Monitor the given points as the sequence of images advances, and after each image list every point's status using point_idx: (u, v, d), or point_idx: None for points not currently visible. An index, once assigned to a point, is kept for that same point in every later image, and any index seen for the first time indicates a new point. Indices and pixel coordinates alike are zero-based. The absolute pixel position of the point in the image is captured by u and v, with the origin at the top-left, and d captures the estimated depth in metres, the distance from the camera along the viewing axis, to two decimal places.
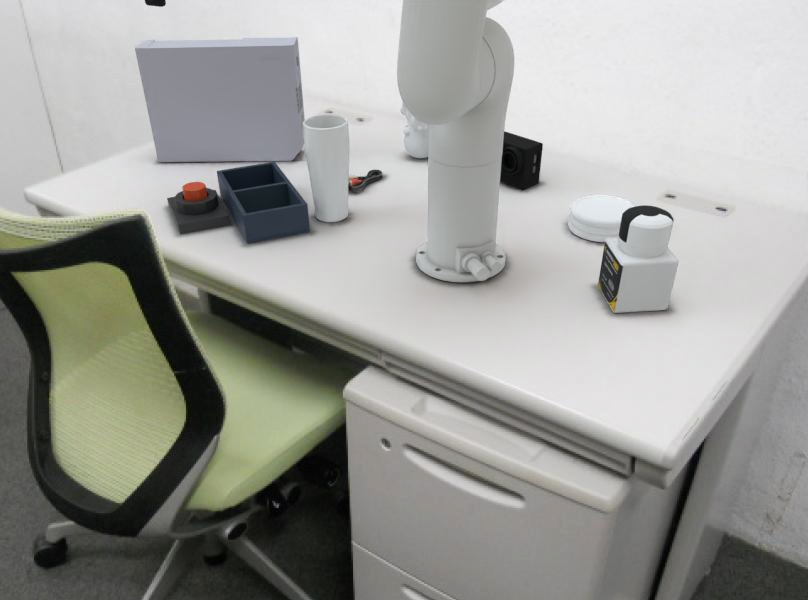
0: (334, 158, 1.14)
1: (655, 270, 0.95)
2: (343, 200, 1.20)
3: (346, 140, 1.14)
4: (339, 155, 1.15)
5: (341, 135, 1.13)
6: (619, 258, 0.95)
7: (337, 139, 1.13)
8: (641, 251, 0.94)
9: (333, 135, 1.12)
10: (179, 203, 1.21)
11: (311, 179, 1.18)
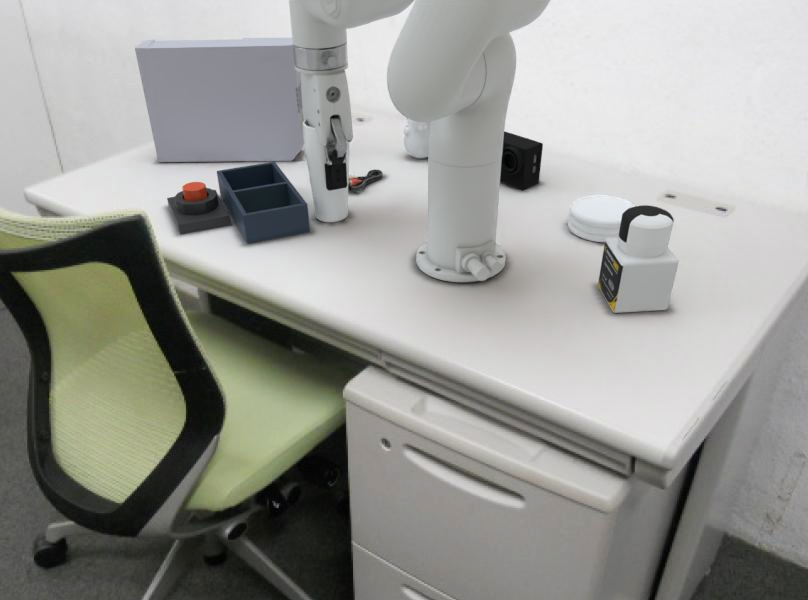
0: None
1: (655, 270, 0.95)
2: (343, 200, 1.20)
3: None
4: None
5: None
6: (619, 258, 0.95)
7: None
8: (641, 251, 0.94)
9: (332, 135, 1.12)
10: (179, 203, 1.21)
11: (311, 179, 1.18)
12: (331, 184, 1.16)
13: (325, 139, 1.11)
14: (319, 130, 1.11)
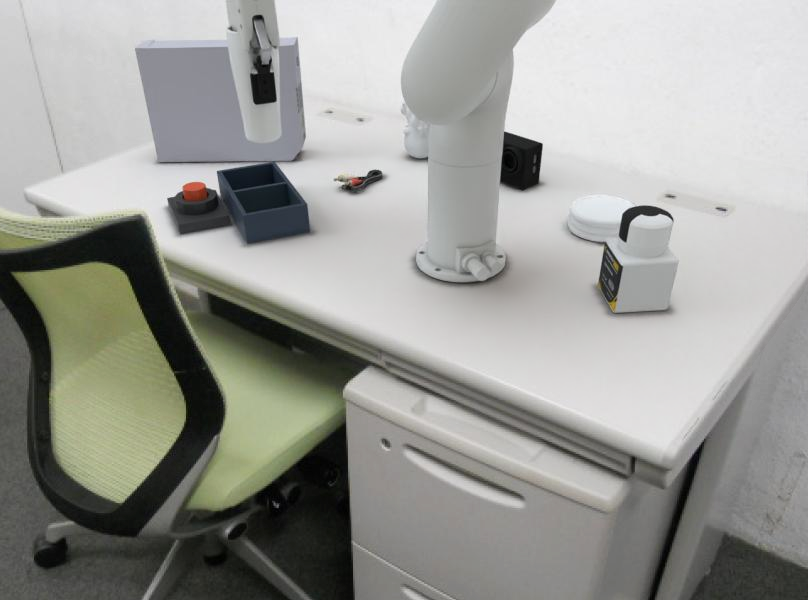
0: None
1: (655, 270, 0.95)
2: (274, 118, 1.10)
3: None
4: None
5: None
6: (619, 258, 0.95)
7: None
8: (641, 251, 0.94)
9: None
10: (179, 203, 1.21)
11: (238, 93, 1.08)
12: (258, 97, 1.06)
13: (248, 43, 1.00)
14: (241, 33, 1.00)
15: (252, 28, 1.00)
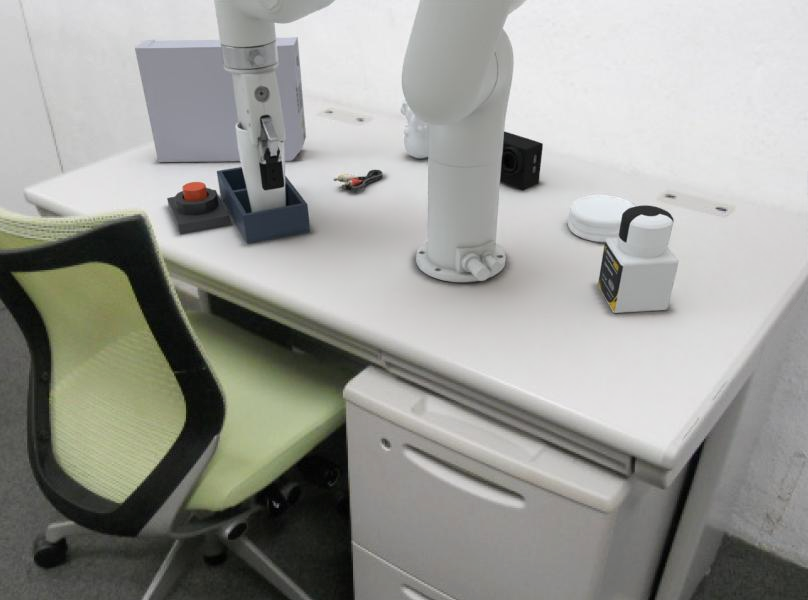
0: None
1: (655, 270, 0.95)
2: (280, 204, 1.17)
3: (280, 143, 1.12)
4: None
5: None
6: (619, 258, 0.95)
7: None
8: (641, 251, 0.94)
9: (265, 138, 1.10)
10: (179, 203, 1.21)
11: (246, 182, 1.16)
12: (267, 184, 1.12)
13: (256, 140, 1.08)
14: (249, 130, 1.08)
15: (260, 126, 1.07)
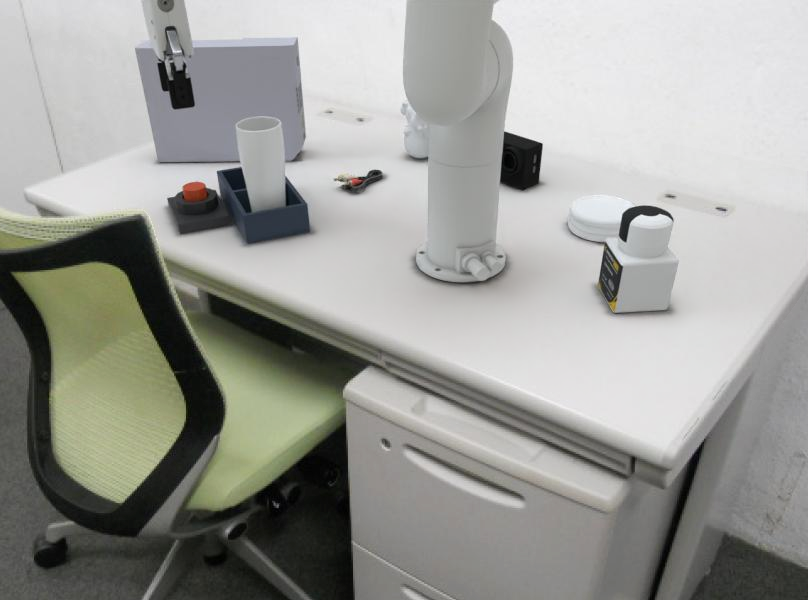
0: (267, 161, 1.12)
1: (655, 270, 0.95)
2: (280, 204, 1.17)
3: (280, 143, 1.12)
4: (273, 158, 1.12)
5: (274, 137, 1.11)
6: (619, 258, 0.95)
7: (269, 142, 1.10)
8: (641, 251, 0.94)
9: (265, 138, 1.10)
10: (179, 203, 1.21)
11: (246, 182, 1.16)
12: (176, 102, 1.09)
13: (162, 53, 1.05)
14: (155, 43, 1.05)
15: (165, 39, 1.04)
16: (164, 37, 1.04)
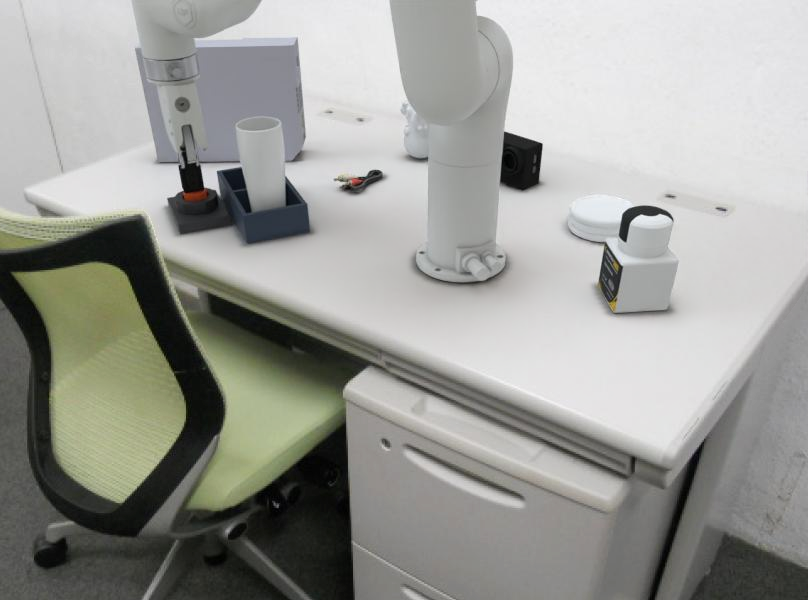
0: (267, 161, 1.12)
1: (655, 270, 0.95)
2: (280, 204, 1.17)
3: (280, 143, 1.12)
4: (273, 158, 1.12)
5: (274, 137, 1.11)
6: (619, 258, 0.95)
7: (270, 142, 1.10)
8: (641, 251, 0.94)
9: (265, 138, 1.10)
10: (179, 203, 1.21)
11: (246, 183, 1.16)
12: (188, 187, 1.21)
13: (179, 148, 1.13)
14: (172, 139, 1.13)
15: (182, 135, 1.12)
16: (181, 134, 1.12)
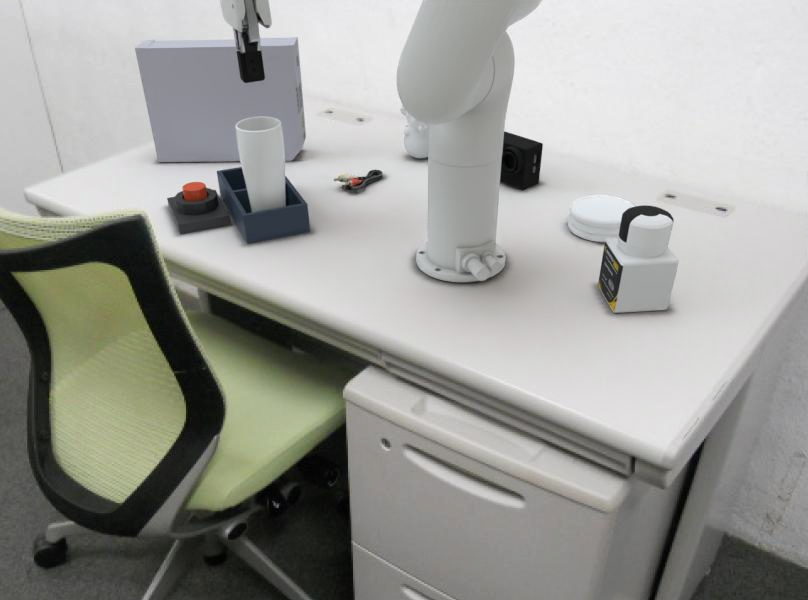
0: (267, 161, 1.12)
1: (655, 270, 0.95)
2: (280, 204, 1.17)
3: (280, 143, 1.12)
4: (273, 158, 1.12)
5: (274, 137, 1.11)
6: (619, 258, 0.95)
7: (270, 142, 1.10)
8: (641, 251, 0.94)
9: (265, 138, 1.10)
10: (179, 203, 1.21)
11: (246, 183, 1.16)
12: (247, 76, 1.10)
13: (240, 23, 1.02)
14: (233, 13, 1.02)
15: (244, 7, 1.01)
16: (243, 6, 1.01)
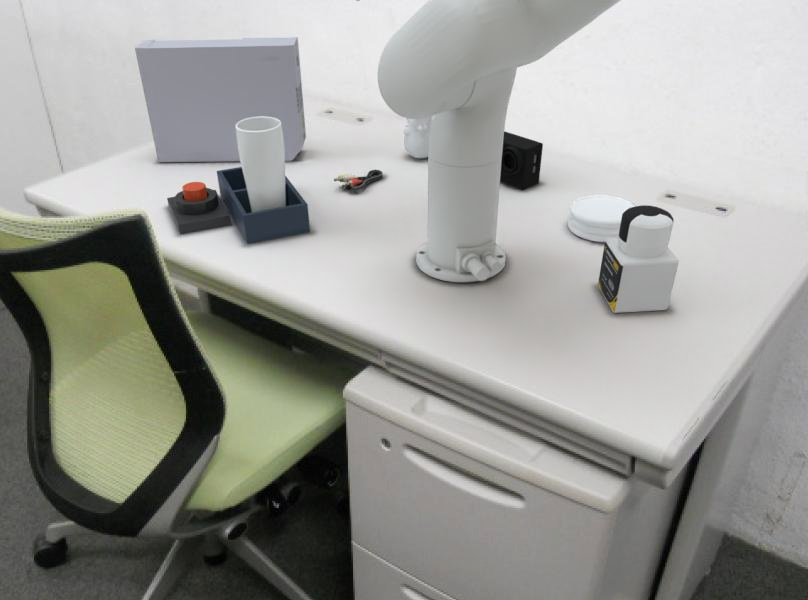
0: (267, 161, 1.12)
1: (655, 270, 0.95)
2: (280, 204, 1.17)
3: (280, 143, 1.12)
4: (273, 158, 1.12)
5: (274, 137, 1.11)
6: (619, 258, 0.95)
7: (270, 142, 1.10)
8: (641, 251, 0.94)
9: (265, 138, 1.10)
10: (179, 203, 1.21)
11: (246, 183, 1.16)
12: None
13: None
14: None
15: None
16: None
